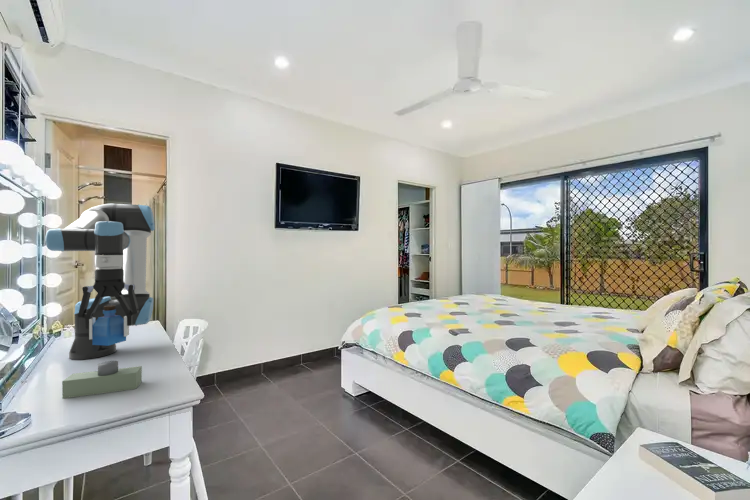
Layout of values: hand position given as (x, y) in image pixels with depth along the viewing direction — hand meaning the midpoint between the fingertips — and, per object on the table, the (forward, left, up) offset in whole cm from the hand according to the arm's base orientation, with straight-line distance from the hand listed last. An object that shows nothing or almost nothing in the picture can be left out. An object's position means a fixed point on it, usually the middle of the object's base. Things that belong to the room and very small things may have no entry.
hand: (109, 336), depth 112 cm
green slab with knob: (+4, +1, -14) cm, 15 cm away
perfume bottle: (0, 0, -2) cm, 2 cm away
